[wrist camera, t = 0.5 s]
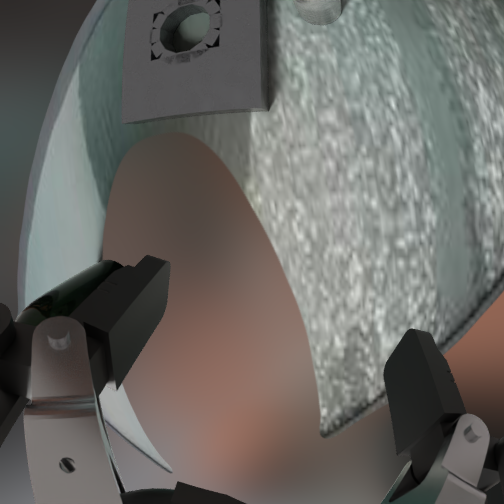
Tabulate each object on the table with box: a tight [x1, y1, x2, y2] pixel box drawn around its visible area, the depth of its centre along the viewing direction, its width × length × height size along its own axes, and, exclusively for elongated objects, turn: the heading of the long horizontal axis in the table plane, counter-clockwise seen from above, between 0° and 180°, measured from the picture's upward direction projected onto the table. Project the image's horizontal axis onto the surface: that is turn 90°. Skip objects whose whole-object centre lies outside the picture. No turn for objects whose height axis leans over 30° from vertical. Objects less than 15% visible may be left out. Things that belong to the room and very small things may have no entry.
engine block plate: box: [122, 0, 269, 124], centre depth 28 cm, size 22×18×3 cm
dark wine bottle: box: [15, 260, 124, 326], centre depth 31 cm, size 10×10×33 cm
